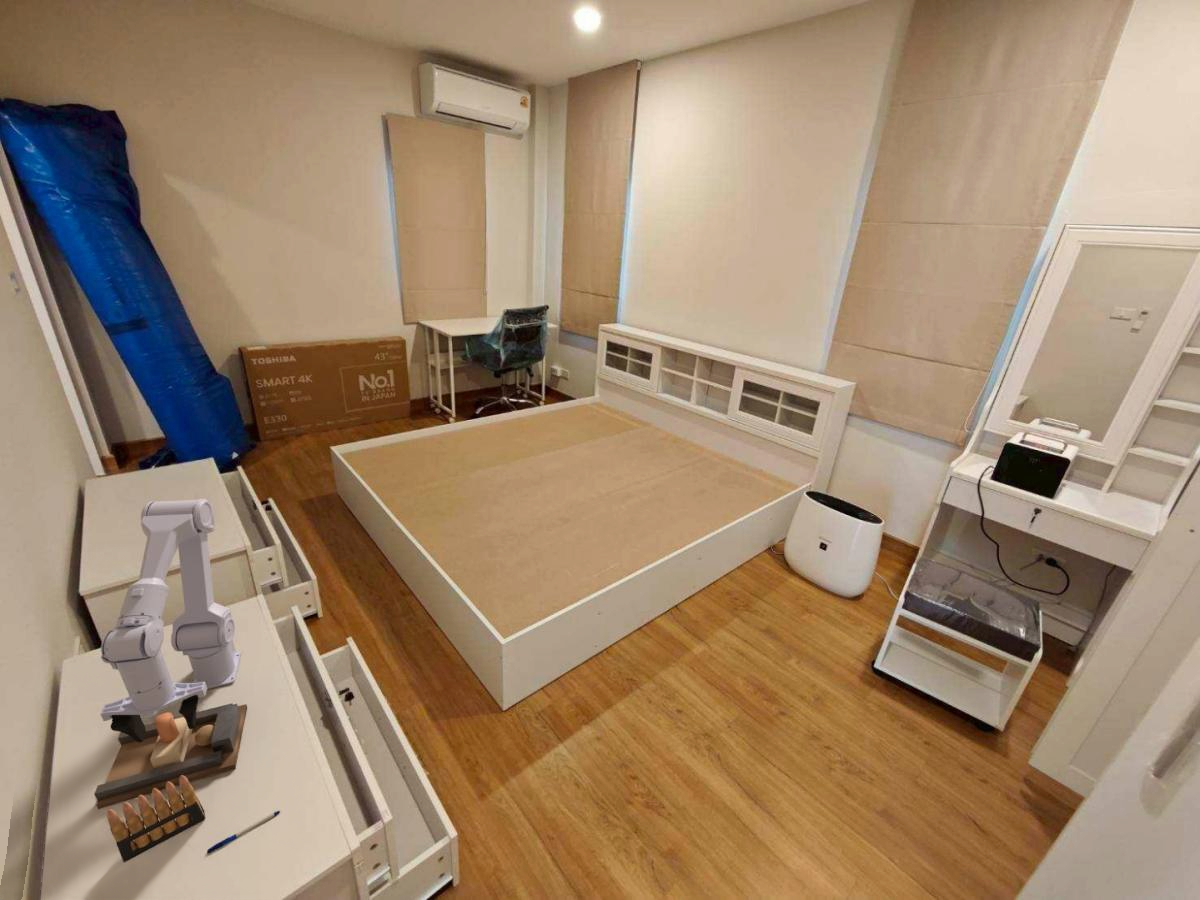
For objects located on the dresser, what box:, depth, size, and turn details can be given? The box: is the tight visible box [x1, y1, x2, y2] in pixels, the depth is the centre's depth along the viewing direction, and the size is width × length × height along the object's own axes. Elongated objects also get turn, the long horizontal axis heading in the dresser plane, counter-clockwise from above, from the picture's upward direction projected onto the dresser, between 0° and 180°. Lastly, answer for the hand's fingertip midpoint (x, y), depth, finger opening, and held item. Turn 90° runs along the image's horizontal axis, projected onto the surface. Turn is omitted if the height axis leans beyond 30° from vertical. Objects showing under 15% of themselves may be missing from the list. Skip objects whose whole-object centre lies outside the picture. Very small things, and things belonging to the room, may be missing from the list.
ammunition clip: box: [106, 775, 206, 863], centre depth 82 cm, size 11×2×12 cm, turn 130°
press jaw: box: [150, 712, 193, 769], centre depth 95 cm, size 8×4×9 cm, turn 25°
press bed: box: [93, 702, 248, 810], centre depth 96 cm, size 14×20×5 cm
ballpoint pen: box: [206, 810, 281, 854], centre depth 86 cm, size 10×1×1 cm, turn 132°
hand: (168, 730), depth 94 cm, fingers open, 7 cm apart
